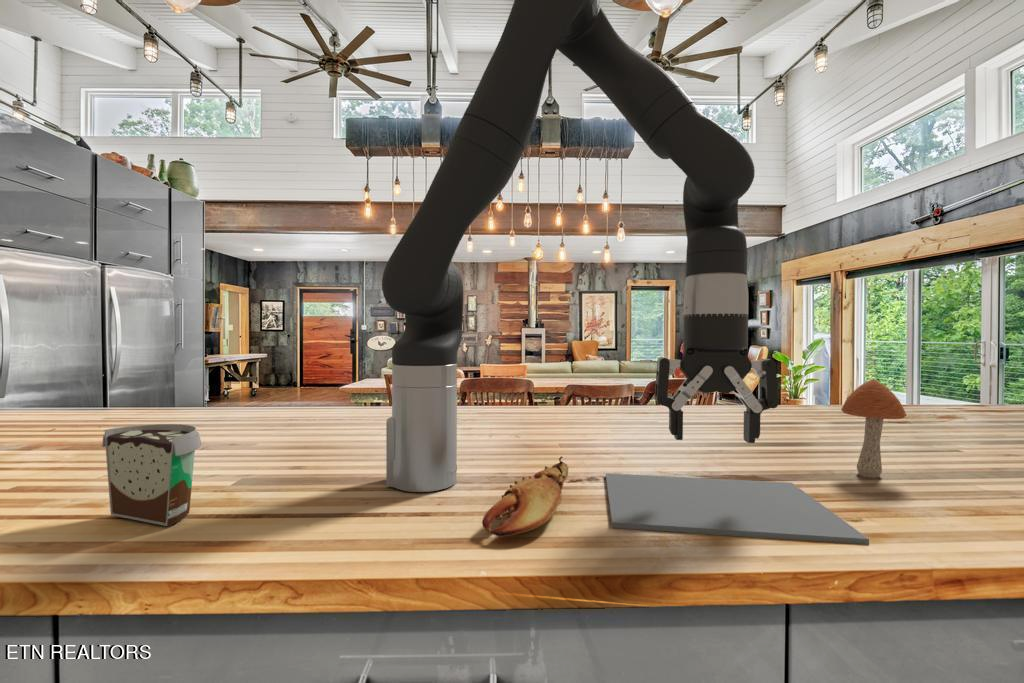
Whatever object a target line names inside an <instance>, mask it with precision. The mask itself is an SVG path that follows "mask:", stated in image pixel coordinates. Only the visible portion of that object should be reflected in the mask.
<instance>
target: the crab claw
mask: <svg viewBox="0 0 1024 683" xmlns="http://www.w3.org/2000/svg"><path fill="white" fill-rule="evenodd" d="M562 459H563V456H560V457H559V459H558V461H559V462H558V463H555V464H553V465H551V466H549V467H548V466H546V465H545V466H544V469H543V470H540V471H538V472H536V473H535V474H534V475H533V478H532V477H531V476H529V477H528V478H527V479H526V478H525V477H522V481H518V480H517V481H516V480H514V485H513V484H512V485H511V484H510V485H509V488H508V489H507V490H506V491H505V492H504V494H501V498H500V499H499V500H498V501H497V502H495V504H493V505H492V506H491V507H490V509H488V510H487V512H486V513H485V514H484V515H483V518H482V521H481V524H482V527H483V528H484V530H486V531H487V532H488V533H490V534H493V535H494V536H497V537H508V536H515V535H519V534H522V533H527V532H529V531H532V530H534V529H537V528H539V527H541V526H542V525H545V524H546V523H547V522H548V521H550V520H551V518H552V517H553V516H554V515H555V513H556V511H557V509H558V507H559V505H560V504H561V502H562V500H563V494H562V490H563V486H564V482H565V481H566V480H567V479H568V475H569V466H568V464H567V463H565V462H564V461H562ZM506 515H507V519H505V520H504V521H502V522H501V523H500V525H499V526H497V527H496V528H493V529H491V526H492V524H493V523H495V522H496V520H497V521H498V520H502V518H503V516H506Z"/></svg>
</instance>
